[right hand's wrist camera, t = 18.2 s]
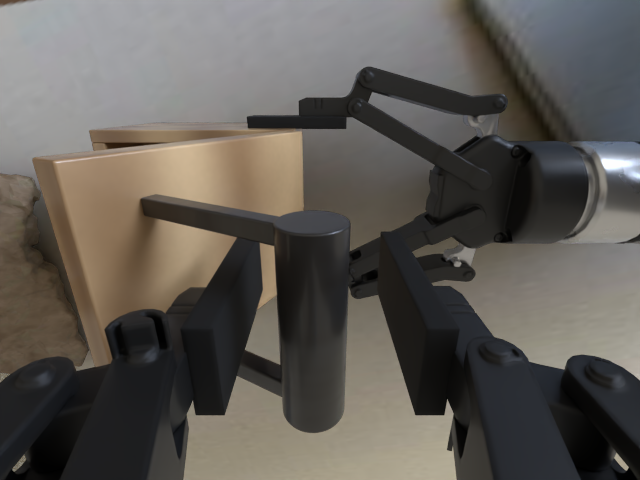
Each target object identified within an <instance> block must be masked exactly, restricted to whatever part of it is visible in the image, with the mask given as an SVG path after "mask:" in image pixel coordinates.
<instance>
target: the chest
mask: <svg viewBox="0 0 640 480" xmlns="http://www.w3.org/2000/svg"><path fill="white" fill-rule="evenodd" d="M276 131H301V132H302V129H295V128H248V124H247V123H149V124H140V125H131V126H122V127H113V128H104V129H95V130H90V131H89V132H90V137H91V141H92V145H93V150H94V151H98V150H107V149H117V148H126V147H136V146H145V145H154V144H164V143H173V142H182V141H192V140H201V139H210V138H220V137H229V136H239V135H248V134H257V133H267V132H276Z"/></svg>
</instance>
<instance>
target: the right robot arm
mask: <svg viewBox="0 0 640 480" xmlns="http://www.w3.org/2000/svg"><path fill="white" fill-rule="evenodd" d="M262 292H263V282H262V267H261V253H260V243H258V242H254V241H250V240H246V239H241V238H236V240H235V242H234V243H233V245H232V246H231V248H230V250H229V251H228V253H227V254H226V256H225V258H224V259H223V261H222V263H221V264H220V266H219V267H218V269H217V271H216V272H215V274H214V275H213V277H212V279H211V280H210V282H209V283H208V285H207V287H190V288H189V289H187V290H185V291H184V292H182V293H181V294H179V295H178V296H177V298H176V299H175V300H174V302H173V303H172V304H171V306H170V307H169V308H168V310H167V311H166V314H165V313H164V312H163V311H161V310H156V309H141V310H137V311H132V312H129V313H127V314H124V315H122V316H119V317H118V318H116V319H115V320H113V321H112V322H110V323H109V324H108V326H107V327H106V328H105V329H104V330H105V334H106V337H107V341H108V345H109V348H110V352H111V355H112V361H111V363H110V364H107V365H103V366H98V367H94V368H89V369H84V370H80V371H76V369H75V366H74V363H73V361H71V360H70V359H69V358H67V357H60V356H56V357H48V358H44V359H40V360H36V361H34V362H31V363H29V364H27V365H25V366H23V367H21V368H19V369H17V370H16V371H15V372H13V373H12V374H10V375H9V376H8V377H6V378H5V379H4V380H3V381H2V382H1V383H0V480H183V477H184V468H185V459H186V450H187V440H188V431H189V427H188V421H187V412H188V410H189V408H190V405H191V403H192V401H193V403H194V408H195V414H196V415H225V412H226V409H227V406H228V402H229V399H230V396H231V392H232V389H233V386H234V383H235V379H236V376H237V373H238V370H239V366H240V363H241V360H242V357H243V353H244V350H245V347H246V344H247V340H248V337H249V334H250V331H251V327H252V324H253V321H254V318H255V314H256V311H257V308H258V305H259V301H260V298H261V295H262ZM377 292H378V295H379V298H380V301H381V305H382V308H383V311H384V314H385V318H386V321H387V324H388V327H389V331H390V334H391V337H392V340H393V344H394V347H395V350H396V353H397V357H398V360H399V363H400V366H401V370H402V373H403V376H404V379H405V383H406V386H407V389H408V392H409V396H410V399H411V402H412V406H413V409H414V412H415V415H444V414H445V408H446V403H447V399H448V401H449V404H450V406H451V408H452V411H453V413H454V415H453V421H452V426H451V431H450V436H449V441H448V447H447V450H449V451H452V447H453V449H454V458H455V467H456V477H457V480H640V380H638V379H637V378H636V377H635V376H634V375H632V374H631V373H630V372H628V371H627V370H625V369H624V368H623V367H621V366H619V365H616V364H614V363H612V362H611V361H609V360H606V359H602V358H599V357H595V356H588V355H577V356H572V357H571V358H570V359H568V360H567V363H566V366H565V369H564V370H563V369H558V368H553V367H549V366H544V365H539V364H535V363H532V362H529V361H528V358H527V357H526V356H525V354H524V353H523V352H522V351H521V350H520V349H519V348H517V347H516V346H515V345H513V344H511V343H509V342H507V341H505V340H503V339H499V338H495V337H494V336H493V335H492V334H491V332H490V331H489V330H488V328H487V327H486V326H485V324H484V323H483V322H482V320H481V319H480V318H479V316H478V315H477V314H476V313H475V311H474V310H473V308H472V307H471V306H470V305H469V303H468V302H467V300H466V299H465V298H464V296H463V295H462V294H461V293H459V292H458V291H456V290H455V289H453V288H452V287H450V286H433V285H432V283H431V282H430V280H429V279H428V277H427V275H426V274H425V272H424V271H423V269H422V267H421V266H420V264H419V263H418V261H417V259H416V258H415V256H414V254H413V253H412V251H411V250H410V248H409V246H408V245H407V243H406V242H405V240H404V238H403V237H402V235H401V234H400V232H381V239H380V253H379V267H378V282H377ZM616 452H617V453H618V455H619V456H620V457H621V458H622V459H623V461H624V462H625V463H626V464H627V465H628V467H629V468H628V470H627V471H625V470H624V469H623V468H622V467H621V466H620V465H619V464H618V463H617V461H616V460H615V459H614V457H615V454H616ZM24 454H25V457H26V459H27V460H26V461H25V462H24V463H23V465H22V466H21V467H20V468H19V469H18V470H17V471H15V472H13V470H12V468H13V467H14V466H15V464H16V463H17V462H18V461H19V460H20V458H21V457H22V456H23V455H24Z"/></svg>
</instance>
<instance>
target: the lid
mask: <svg viewBox="0 0 640 480" xmlns="http://www.w3.org/2000/svg"><path fill="white" fill-rule="evenodd" d="M32 161H33V164H34V168H35V171H36V174H37V178H38V181H39V184H40V187H41V191H42V194H43V197H44V200H45V204H46V207H47V210H48V214H49V217H50V220H51V223H52V227H53V230H54V233H55V236H56V240H57V243H58V246H59V250H60V253H61V256H62V259H63V263H64V266H65V269H66V273H67V276H68V279H69V282H70V286H71V289H72V292H73V295H74V299H75V302H76V305H77V309H78V312H79V315H80V318H81V322H82V325H83V328H84V332H85V335H86V338H87V341H88V345H89V348H90V351H91V354H92V358H93V361H94V364H95V367H98V366H103V365H107V364H110V363H111V361H112V355H111V352H110V348H109V345H108V341H107V337H106V334H105V330H104V329H105V328H106V327H107V326H108V324H109V323H110V322H112V321H113V320H115V319H116V318H118V317H119V316H122V315H124V314H127V313H129V312H132V311H137V310H141V309H156V310H161V311H163V312H164V313H165V314H166V311H167V310H168V308H169V307H170V306H171V304H172V303H173V302H174V300H175V299H176V298H177V296H178V295H179V294H181V293H182V292H184V291H185V290H187V289H189V288H190V287H207V285H208V283H209V282H210V280H211V279H212V277H213V275H214V274H215V272H216V271H217V269H218V267H219V266H220V264H221V263H222V261H223V259H224V258H225V256H226V254H227V253H228V251H229V250H230V248H231V246H232V245H233V243H234V242H235V240H236V238H241V239H246V240H250V241H254V242H258V243H260V253H261V267H262V282H263V292H262V295H261V298H260V301H259V305H258V308H257V310H258V309H259V308H260V307H262V306H263V305H264V304H266V303H267V302H268V301H270V300H271V299H272V298H274V297H275V296H276V295H277V309H278V327H279V346H280V364H281V365H279V364H276V363H274V362H272V361H269V360H267V359H265V358H262V357H260V356H258V355H255V354H253V353H251V352H248V351H246V350H244V353H243V357H242V360H241V363H240V366H239V370H238V373H237V376H239V377H241V378H243V379H245V380H247V381H249V382H251V383H254V384H256V385H258V386H260V387H262V388H264V389H266V390H268V391H270V392H272V393H274V394H277V395H279V396H281V397H282V401H283V413H284V416H285V418H286V419H287V421H288V422H289V423H290V424H291V425H292V426H293V427H294V428H296V429H298V430H300V431H303V432H307V433H319V432H323V431H326V430H328V429H330V428H332V427H333V426H335V425H336V424H337V423H338V422H339V420H340V419H341V417H342V415H343V412H344V399H345V370H346V340H347V311H348V281H349V252H350V221H349V220H348V218H346V217H345V216H343V215H340V214H337V213H333V212H327V211H304V197H303V144H302V132H301V131H276V132H267V133H257V134H248V135H239V136H229V137H220V138H210V139H201V140H192V141H182V142H173V143H164V144H154V145H145V146H136V147H126V148H117V149H107V150H98V151H89V152H79V153H70V154H61V155H51V156H42V157H35V158H33V160H32Z"/></svg>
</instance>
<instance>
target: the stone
mask: <svg viewBox="0 0 640 480" xmlns="http://www.w3.org/2000/svg"><path fill="white" fill-rule="evenodd" d="M40 196H41V192H40V191H39V190H38V189H37V187H36V185H35V181H34V180H33V179H32V178H30V177H26V176H21V175H7V174H0V373H10V374H12V373H13V372H15V371H16V370H17V369H19V368H21V367H23V366H25V365H27V364H29V363H31V362H34V361H36V360H40V359H44V358H48V357H56V356H60V357H67V358H69V359H70V360H71V361H73V363H74V365H75V366H82V364H83V362H84V360H85V357H86V355H87V352H88V351H89V350H88V347H87V346H86V341H85V340H84V339H82V337H81V336H80V334H79V333H78V326H77V323H78V317H77V316H76V314H75V311H74V310H73V309H72V306H71V304H70V303H69V302H68V301H67V298H66V296H65V294H64V285H63V283H62V282H61V279H60V276H59V270H58V268H57V267H56V266H55V265H53V264H52V263H49V262H46V261H44V260H43V256H42V254H41V252H40V251H38V250H37V249H35V248H32V247H31V246H33V245H36V244H37V243H39V236H40V233H39V230H38V228H37V222H38V218H37V217H36V216H35V215H34V214H33V205H34V203H35V201H37V200H39V199H40Z"/></svg>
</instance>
